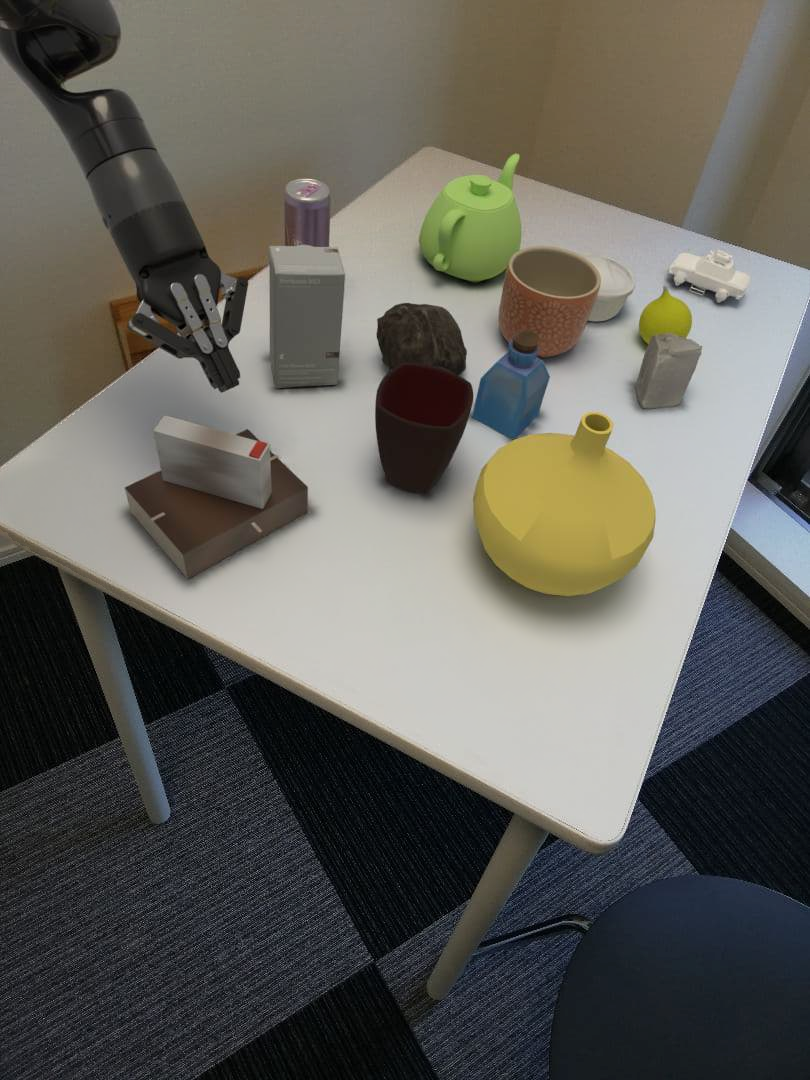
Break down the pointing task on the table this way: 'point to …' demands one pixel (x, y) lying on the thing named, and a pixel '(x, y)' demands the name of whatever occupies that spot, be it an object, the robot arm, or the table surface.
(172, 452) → the red-tipped metal bar
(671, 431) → the table surface
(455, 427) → the mug
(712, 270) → the toy car
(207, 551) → the brown rectangular plinth
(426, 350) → the rock
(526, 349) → the perfume bottle
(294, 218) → the beverage can
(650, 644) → the table surface
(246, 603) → the table surface
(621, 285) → the ramekin
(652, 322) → the ornament
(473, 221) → the teapot
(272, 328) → the cosmetic box
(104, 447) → the table surface
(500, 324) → the planter
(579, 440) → the vase
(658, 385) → the mineral specimen
